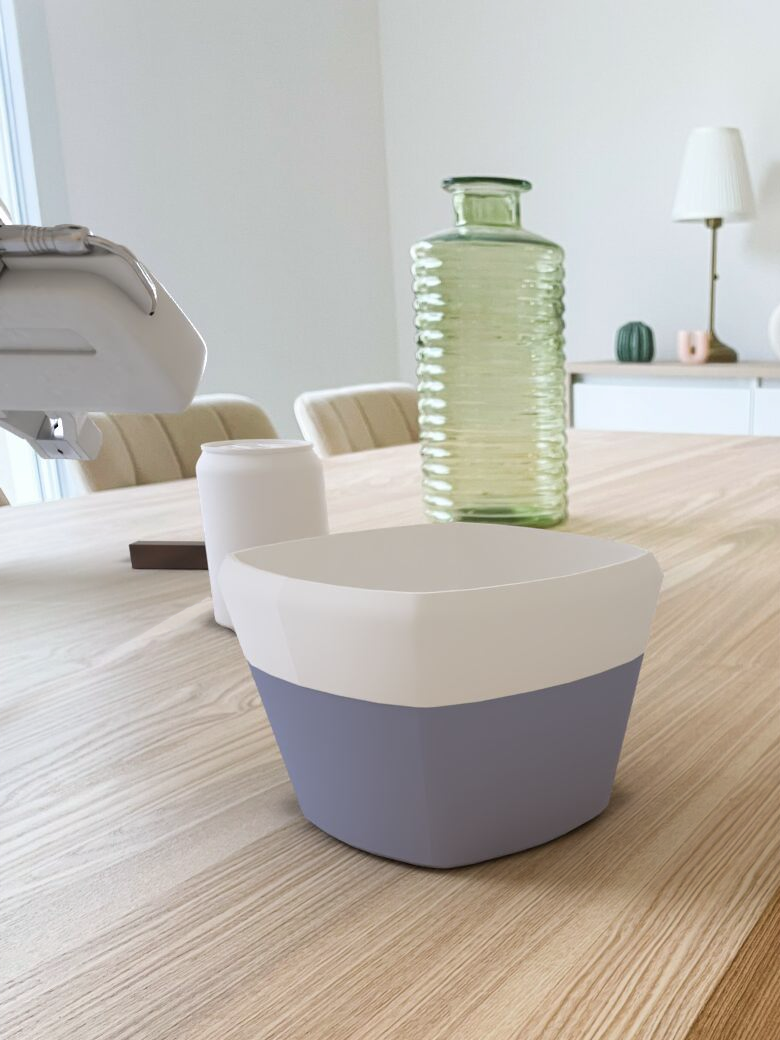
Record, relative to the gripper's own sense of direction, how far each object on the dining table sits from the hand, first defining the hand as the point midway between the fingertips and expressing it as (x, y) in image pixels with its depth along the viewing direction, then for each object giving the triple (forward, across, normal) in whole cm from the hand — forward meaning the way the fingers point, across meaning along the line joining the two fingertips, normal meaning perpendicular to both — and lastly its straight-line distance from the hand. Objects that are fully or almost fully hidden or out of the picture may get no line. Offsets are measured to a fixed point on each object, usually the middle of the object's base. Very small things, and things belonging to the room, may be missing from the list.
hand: (75, 449), depth 67 cm
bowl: (0, -25, +19) cm, 31 cm away
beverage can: (+23, 0, -4) cm, 23 cm away
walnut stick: (+36, +17, -18) cm, 44 cm away
